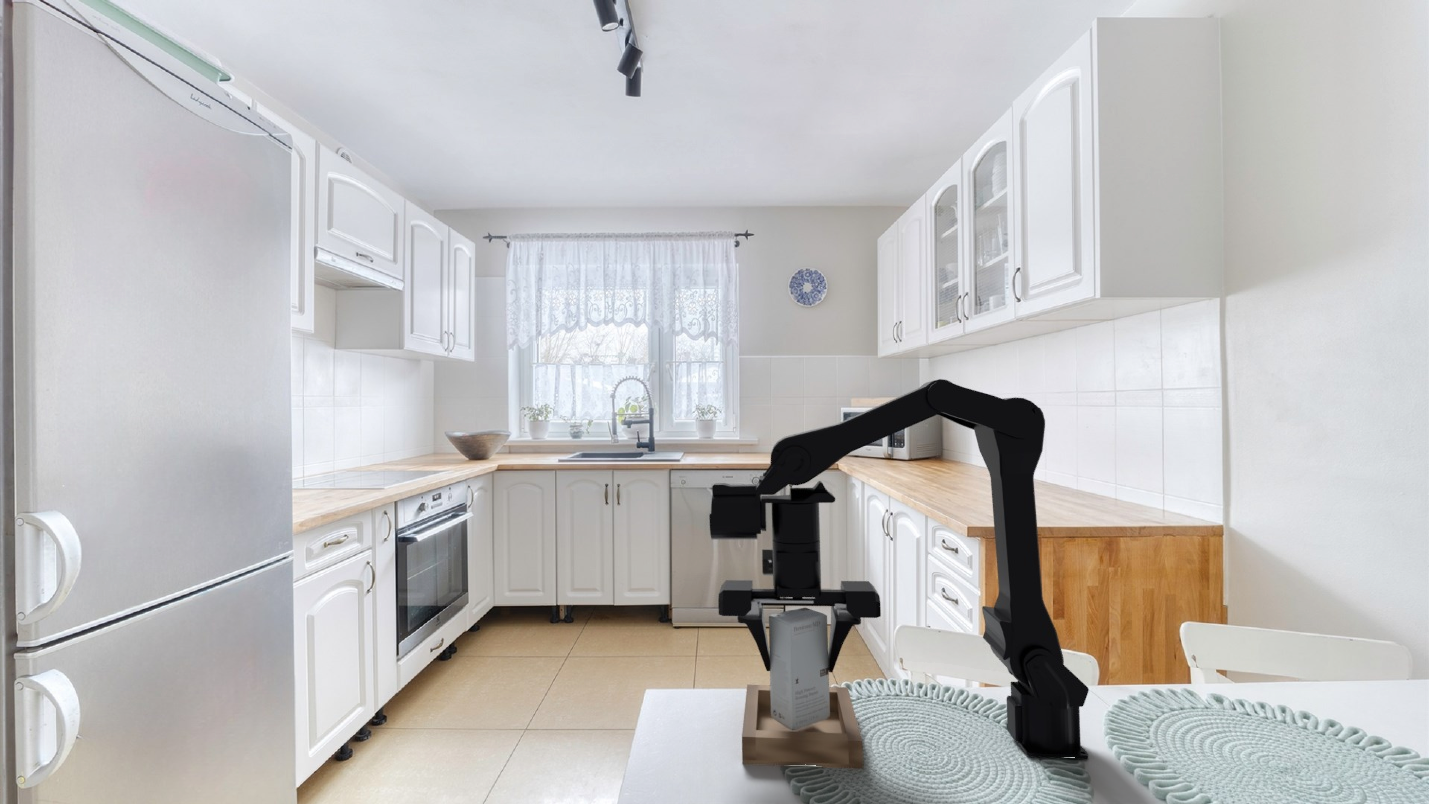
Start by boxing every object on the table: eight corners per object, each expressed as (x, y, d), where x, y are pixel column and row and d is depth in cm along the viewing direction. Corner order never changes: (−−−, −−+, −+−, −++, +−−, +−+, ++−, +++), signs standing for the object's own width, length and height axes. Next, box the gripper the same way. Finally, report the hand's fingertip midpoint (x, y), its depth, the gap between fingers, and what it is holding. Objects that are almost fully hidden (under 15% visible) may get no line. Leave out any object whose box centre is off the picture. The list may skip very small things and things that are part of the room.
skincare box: (793, 733, 68) (790, 625, 68) (768, 717, 71) (766, 614, 72) (832, 717, 71) (829, 614, 71) (807, 702, 75) (804, 605, 75)
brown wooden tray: (848, 713, 77) (847, 687, 77) (863, 772, 64) (862, 741, 64) (747, 709, 78) (747, 684, 78) (742, 767, 65) (741, 736, 65)
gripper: (864, 527, 79) (868, 646, 78) (724, 527, 81) (727, 644, 80) (879, 544, 68) (883, 683, 67) (716, 544, 70) (719, 679, 69)
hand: (799, 670), depth 71 cm, fingers closed on skincare box, 7 cm apart
